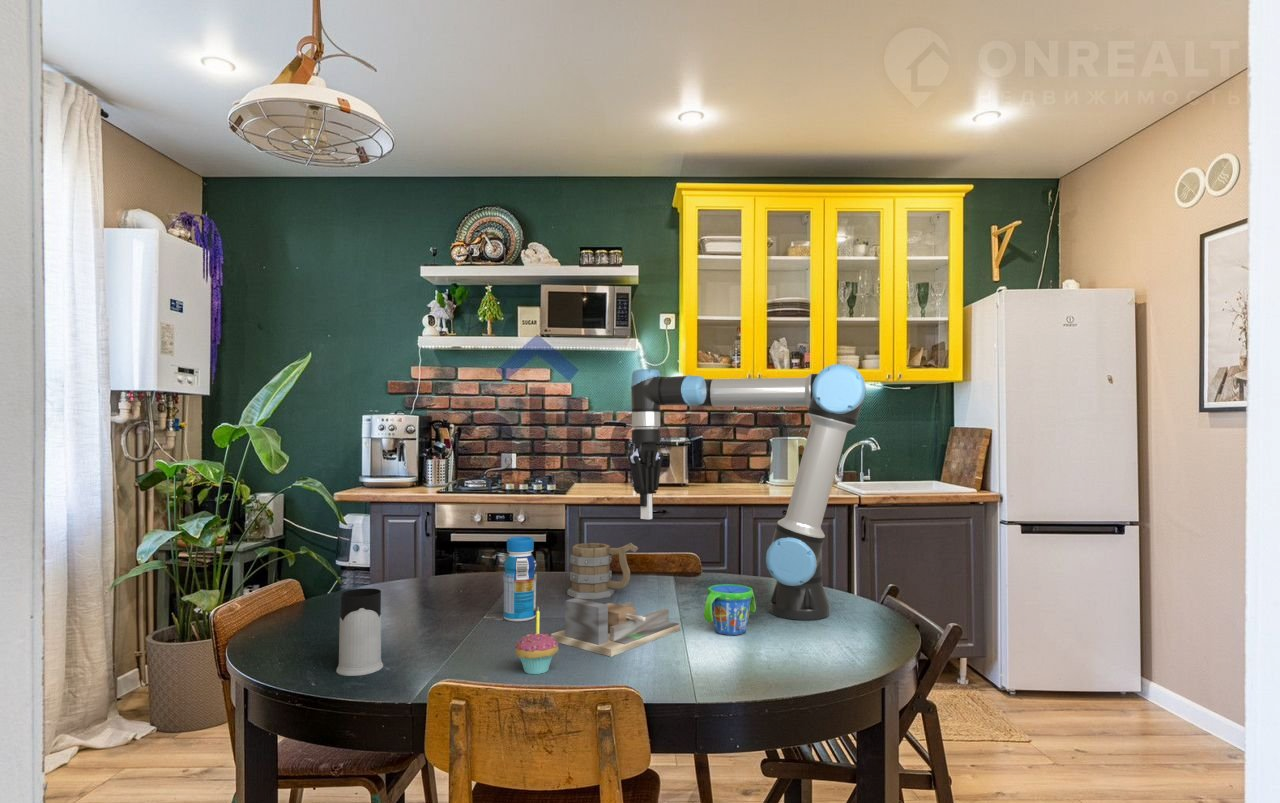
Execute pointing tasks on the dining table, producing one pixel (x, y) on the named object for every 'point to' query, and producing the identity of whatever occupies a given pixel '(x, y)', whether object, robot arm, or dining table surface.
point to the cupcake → (536, 650)
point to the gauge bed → (591, 628)
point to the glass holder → (360, 632)
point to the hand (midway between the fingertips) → (646, 518)
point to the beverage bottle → (520, 580)
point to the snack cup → (729, 608)
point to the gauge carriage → (621, 614)
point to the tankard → (596, 570)
